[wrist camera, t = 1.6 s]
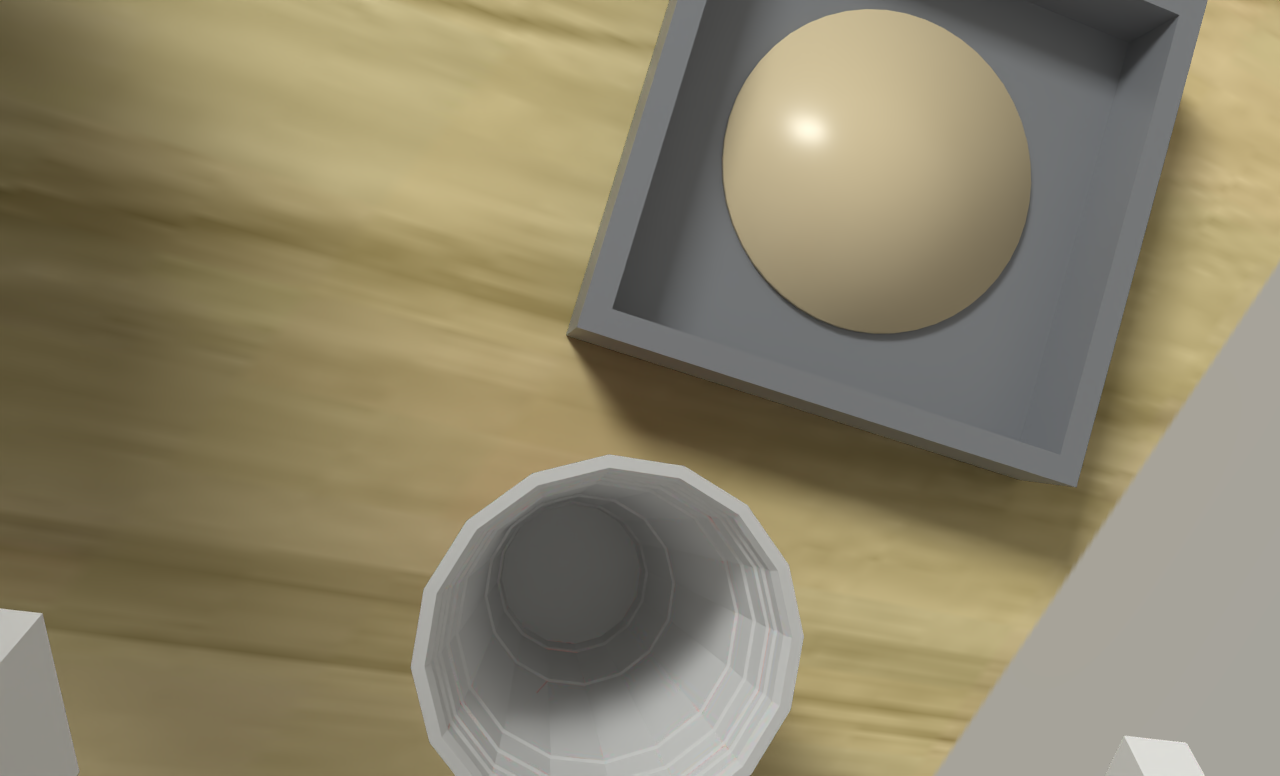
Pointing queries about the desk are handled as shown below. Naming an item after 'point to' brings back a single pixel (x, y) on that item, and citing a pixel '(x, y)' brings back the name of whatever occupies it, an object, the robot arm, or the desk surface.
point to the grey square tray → (895, 211)
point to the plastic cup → (608, 629)
